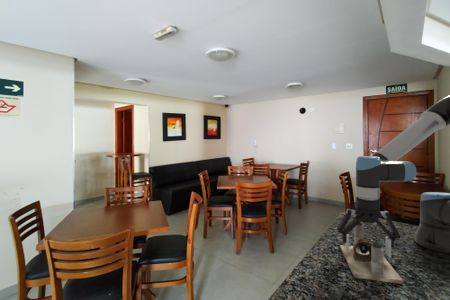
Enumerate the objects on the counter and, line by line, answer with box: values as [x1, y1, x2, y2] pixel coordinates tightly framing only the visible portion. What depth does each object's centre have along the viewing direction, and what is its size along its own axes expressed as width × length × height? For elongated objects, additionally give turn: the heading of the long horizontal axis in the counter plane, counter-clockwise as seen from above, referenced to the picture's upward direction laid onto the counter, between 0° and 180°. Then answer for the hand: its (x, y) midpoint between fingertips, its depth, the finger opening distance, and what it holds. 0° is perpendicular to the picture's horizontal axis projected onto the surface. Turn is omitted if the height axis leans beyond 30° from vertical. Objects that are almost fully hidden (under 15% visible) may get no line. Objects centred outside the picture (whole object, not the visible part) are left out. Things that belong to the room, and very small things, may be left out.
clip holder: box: [339, 222, 404, 285], centre depth 82 cm, size 14×22×12 cm, turn 164°
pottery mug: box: [352, 239, 384, 264], centre depth 82 cm, size 12×10×8 cm
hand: (367, 253), depth 82 cm, fingers open, 13 cm apart
